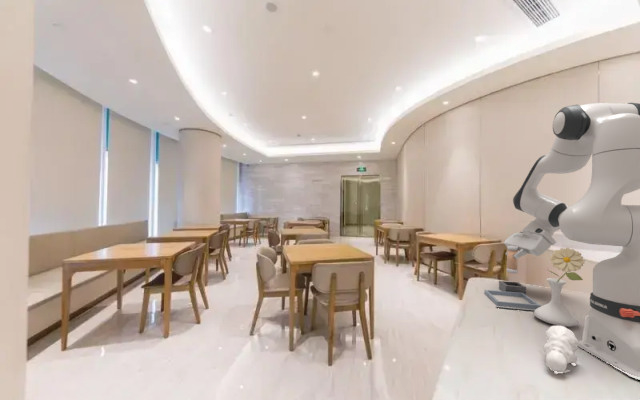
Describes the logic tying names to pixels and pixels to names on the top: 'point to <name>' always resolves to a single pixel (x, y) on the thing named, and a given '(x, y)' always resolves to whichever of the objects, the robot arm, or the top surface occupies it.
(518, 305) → the parts tray
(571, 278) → the flower in vase
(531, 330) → the top surface
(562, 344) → the white lumpy oval piece
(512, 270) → the tan bottle
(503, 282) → the socket block
